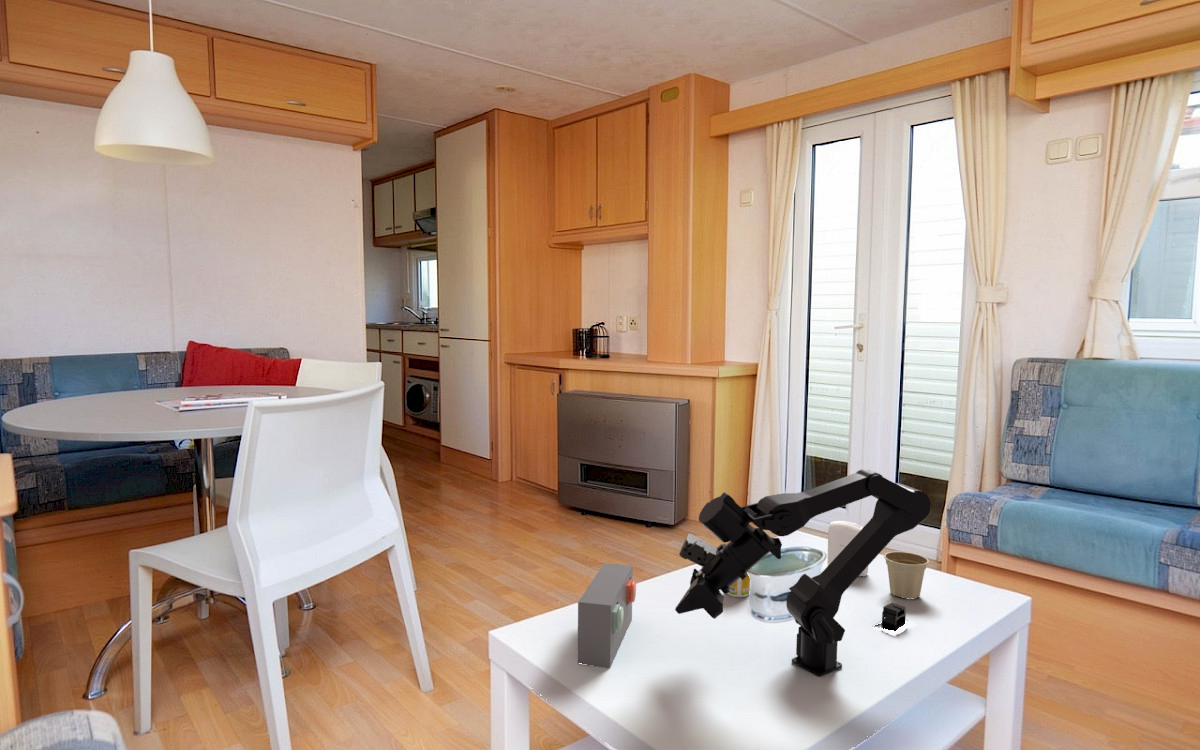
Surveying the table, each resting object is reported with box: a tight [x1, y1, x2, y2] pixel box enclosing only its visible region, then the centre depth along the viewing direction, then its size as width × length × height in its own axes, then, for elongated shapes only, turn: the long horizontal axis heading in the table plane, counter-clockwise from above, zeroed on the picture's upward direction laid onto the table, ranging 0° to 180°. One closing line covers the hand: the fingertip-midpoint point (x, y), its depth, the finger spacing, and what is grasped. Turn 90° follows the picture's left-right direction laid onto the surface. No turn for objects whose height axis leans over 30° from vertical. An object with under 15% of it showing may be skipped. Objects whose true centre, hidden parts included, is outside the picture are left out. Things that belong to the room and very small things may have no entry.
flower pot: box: [883, 551, 930, 599], centre depth 160 cm, size 9×9×9 cm
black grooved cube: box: [874, 602, 907, 631], centre depth 144 cm, size 12×7×5 cm, turn 130°
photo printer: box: [827, 520, 869, 577], centre depth 175 cm, size 10×4×12 cm, turn 37°
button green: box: [613, 604, 624, 632], centre depth 128 cm, size 5×4×4 cm
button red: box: [626, 579, 637, 604], centre depth 141 cm, size 5×4×4 cm
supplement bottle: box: [726, 574, 751, 598], centre depth 159 cm, size 5×5×10 cm
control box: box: [577, 562, 634, 669], centre depth 135 cm, size 6×21×12 cm, turn 167°
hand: (677, 611), depth 127 cm, fingers closed
